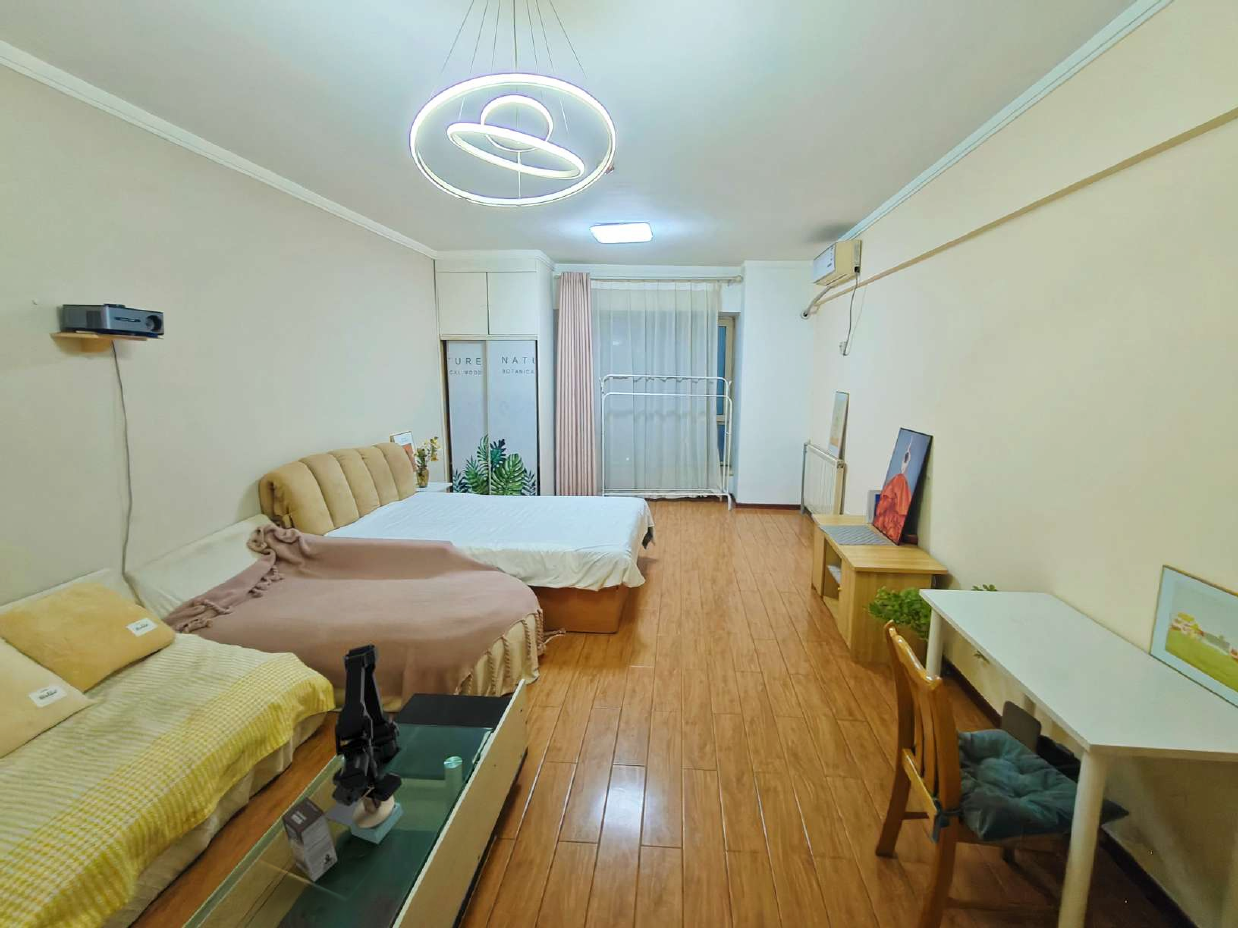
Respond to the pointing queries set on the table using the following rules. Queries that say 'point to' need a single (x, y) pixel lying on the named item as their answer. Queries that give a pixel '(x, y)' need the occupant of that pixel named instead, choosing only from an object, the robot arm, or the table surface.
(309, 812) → the coffee box
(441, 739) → the table surface
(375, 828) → the open box
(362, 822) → the lid
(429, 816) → the table surface
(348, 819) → the mat
